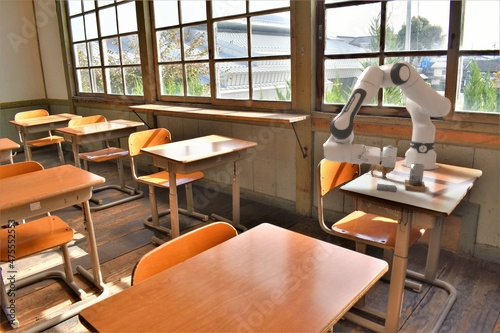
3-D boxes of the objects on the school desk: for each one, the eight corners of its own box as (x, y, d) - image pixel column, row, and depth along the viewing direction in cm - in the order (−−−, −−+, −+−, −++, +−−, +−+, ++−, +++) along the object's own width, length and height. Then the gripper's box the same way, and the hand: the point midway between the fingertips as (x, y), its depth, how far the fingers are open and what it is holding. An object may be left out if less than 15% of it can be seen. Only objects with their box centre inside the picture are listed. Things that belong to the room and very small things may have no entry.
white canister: (381, 163, 172) (383, 144, 170) (395, 164, 170) (397, 145, 168) (381, 166, 167) (383, 146, 164) (395, 167, 165) (397, 147, 163)
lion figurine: (395, 179, 186) (397, 161, 184) (390, 181, 182) (392, 162, 180) (368, 173, 196) (369, 155, 194) (362, 174, 192) (364, 157, 190)
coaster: (377, 184, 176) (377, 183, 176) (395, 186, 174) (395, 185, 173) (376, 189, 169) (376, 188, 169) (395, 192, 166) (396, 190, 166)
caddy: (404, 183, 178) (405, 175, 177) (423, 185, 176) (424, 177, 175) (405, 190, 169) (406, 181, 168) (425, 192, 167) (426, 183, 166)
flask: (408, 182, 174) (410, 163, 172) (421, 183, 172) (423, 164, 170) (408, 185, 169) (411, 165, 167) (422, 186, 167) (424, 167, 165)
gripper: (357, 151, 161) (392, 154, 157) (360, 143, 180) (392, 145, 176) (356, 166, 163) (390, 169, 158) (359, 156, 182) (390, 159, 177)
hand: (391, 157), depth 167 cm, fingers closed on white canister, 6 cm apart
